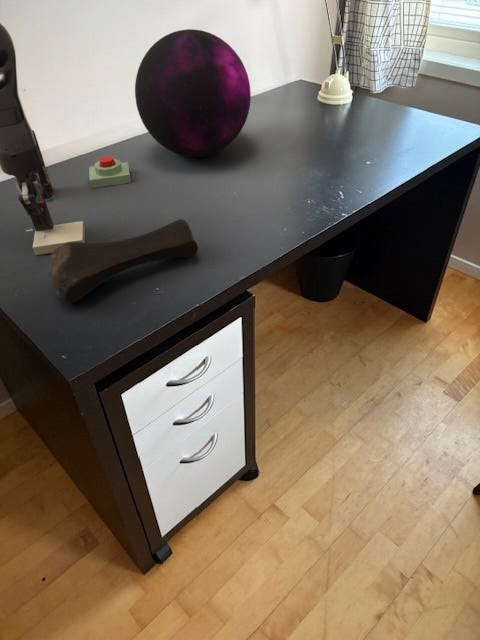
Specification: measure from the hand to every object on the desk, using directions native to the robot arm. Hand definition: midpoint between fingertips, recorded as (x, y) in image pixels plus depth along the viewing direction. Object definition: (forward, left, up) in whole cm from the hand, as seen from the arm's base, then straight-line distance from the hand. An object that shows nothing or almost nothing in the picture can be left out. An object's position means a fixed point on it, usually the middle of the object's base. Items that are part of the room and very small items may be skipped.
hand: (43, 224), depth 102 cm
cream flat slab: (+3, 0, -3) cm, 4 cm away
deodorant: (-14, +16, -3) cm, 22 cm away
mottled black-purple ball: (+13, +51, -3) cm, 52 cm away
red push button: (-2, +29, +1) cm, 29 cm away
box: (-2, +29, -3) cm, 29 cm away
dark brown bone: (+24, -6, -3) cm, 25 cm away
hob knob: (0, 0, -1) cm, 1 cm away
